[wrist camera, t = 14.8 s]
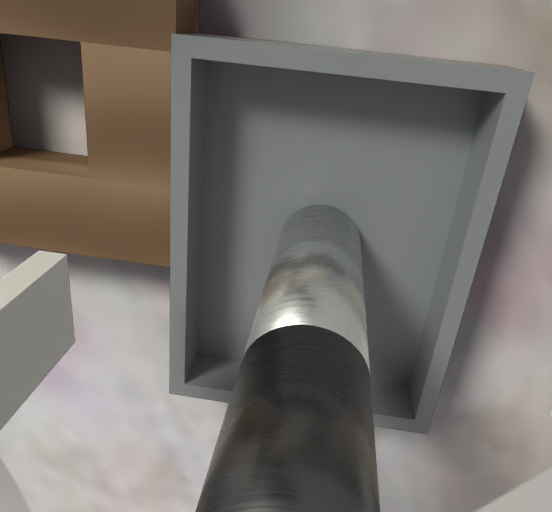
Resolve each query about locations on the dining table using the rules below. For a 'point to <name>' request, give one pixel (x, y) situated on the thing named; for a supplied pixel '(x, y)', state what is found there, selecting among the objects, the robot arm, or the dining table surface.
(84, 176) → the plate
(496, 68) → the tray
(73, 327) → the robot arm
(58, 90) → the dining table surface
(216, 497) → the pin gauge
